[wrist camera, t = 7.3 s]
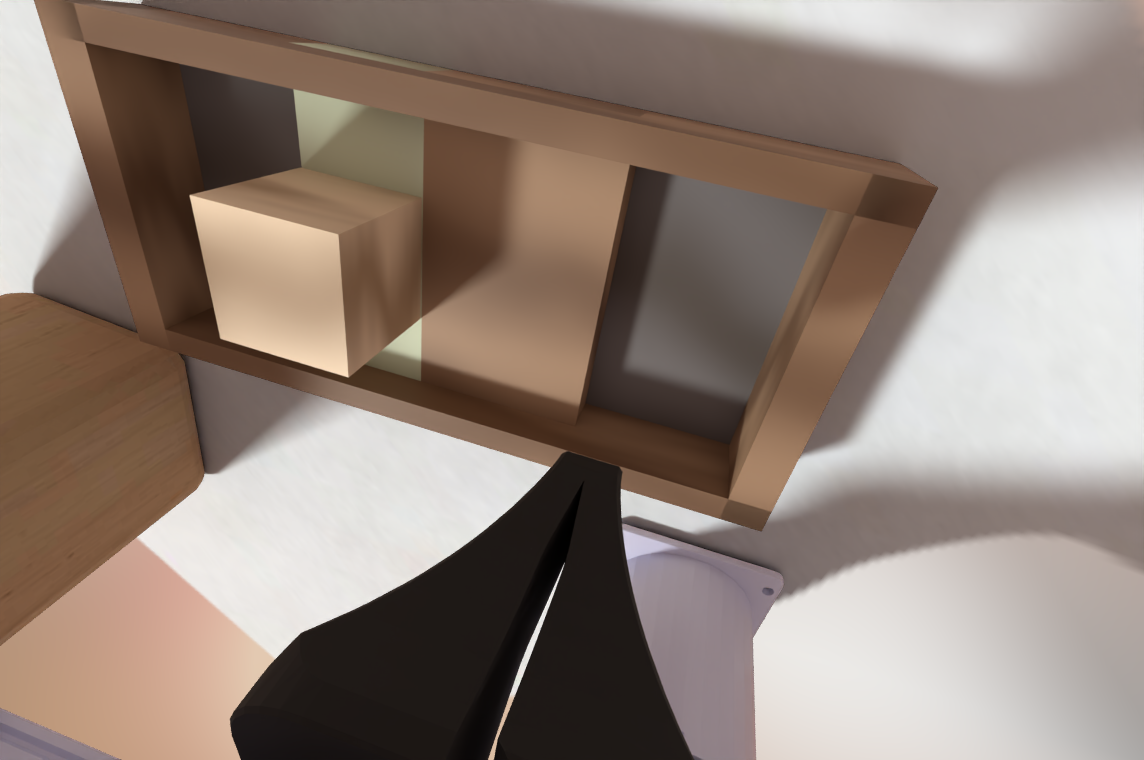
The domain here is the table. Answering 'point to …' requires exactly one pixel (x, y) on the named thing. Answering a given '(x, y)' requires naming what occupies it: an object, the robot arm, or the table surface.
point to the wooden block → (82, 448)
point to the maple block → (311, 266)
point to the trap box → (508, 245)
